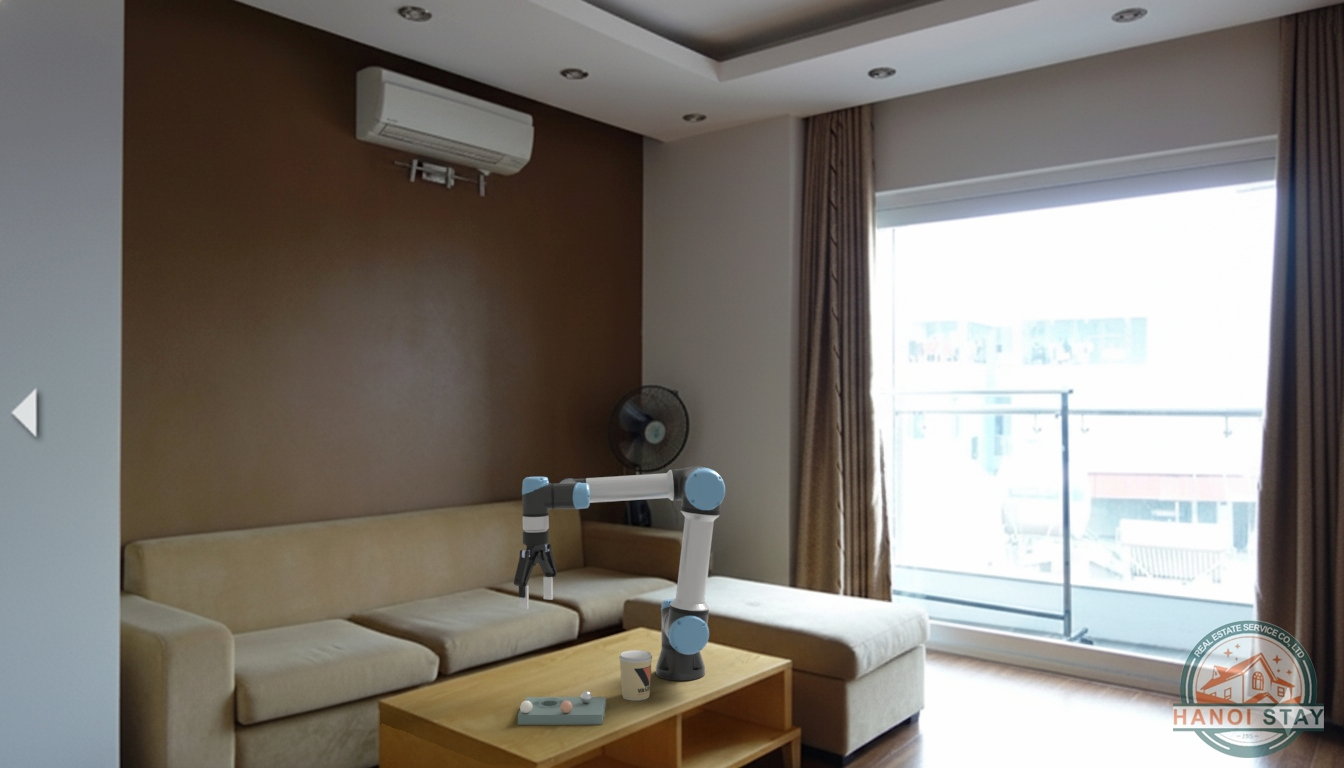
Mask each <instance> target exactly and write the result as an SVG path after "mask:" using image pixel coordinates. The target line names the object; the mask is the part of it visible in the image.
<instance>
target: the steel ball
mask: <svg viewBox="0 0 1344 768" xmlns="http://www.w3.org/2000/svg"><path fill="white" fill-rule="evenodd" d="M579 697H580V699H581V701H582V702H583V703H589V702H590V701H591V700H592V697H593V696H592V693H591V692H590V691H587V690H583V692H581V693H580V696H579Z"/></svg>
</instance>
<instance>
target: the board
mask: <svg viewBox="0 0 1344 768" xmlns="http://www.w3.org/2000/svg"><path fill="white" fill-rule="evenodd" d="M566 700H567V701H570V702H571V703H572V710H571V711H570V712H569V713H563V712H562V711H561V709H560V705H561V703H562V702H563V701H566ZM524 701H530V702H531V703H532V710H531V712H529V713H523V712H522V711H521V709H520V708H519V709H520V710H519V711H518V714H517V725H518V726H519V725H521V726H522V725H523V726H525V725H527V726H528V725H531V726H533V725H534V726H535V725H538V726H540V725H544V726H545V725H550V726H551V725H562V726H563V725H566V726H567V725H603V722H604V718H605V712H606V707H607V697H606V696H592V700H591V701H590V702H589V703H583V702H582V701H581V699H580V696H526V697H525V699H524Z"/></svg>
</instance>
